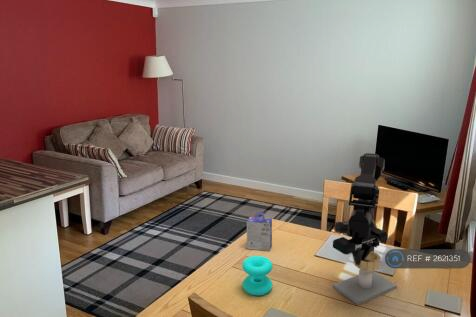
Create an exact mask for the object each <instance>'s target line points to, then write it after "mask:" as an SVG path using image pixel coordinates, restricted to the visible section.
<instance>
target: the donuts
mask: <svg viewBox="0 0 476 317" xmlns="http://www.w3.org/2000/svg"><path fill="white" fill-rule="evenodd" d="M241 265H242V269H243V271H244V273H246V275H247V276H246V277H245V278H244V279H243V281H242V288H243V290H244V291H245V292H246V293H247V294H250V295H251V296H263V295H267V294H268V293H269V292H271V291H272V289H273V281H272V279H271V278H270V277H268V276H267V275H269V274H270V273H271V272H272V270H273V267H274V264H273V263H272V261H271V260H270V258H268V257H265V256H262V255H252V256H249V257H246V258H245V259H244V261H242V264H241Z"/></svg>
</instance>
